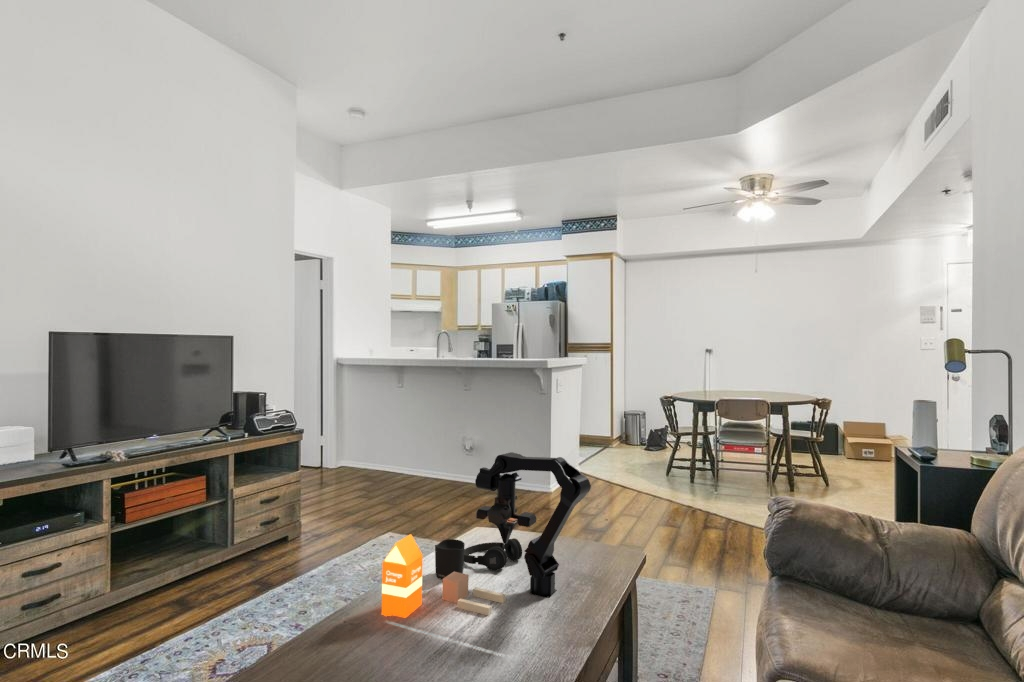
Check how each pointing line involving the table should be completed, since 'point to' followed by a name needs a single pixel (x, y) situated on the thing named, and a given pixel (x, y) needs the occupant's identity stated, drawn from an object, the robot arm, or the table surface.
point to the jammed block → (455, 587)
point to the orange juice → (402, 579)
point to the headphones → (494, 554)
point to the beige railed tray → (478, 606)
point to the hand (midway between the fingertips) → (505, 543)
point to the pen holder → (449, 557)
